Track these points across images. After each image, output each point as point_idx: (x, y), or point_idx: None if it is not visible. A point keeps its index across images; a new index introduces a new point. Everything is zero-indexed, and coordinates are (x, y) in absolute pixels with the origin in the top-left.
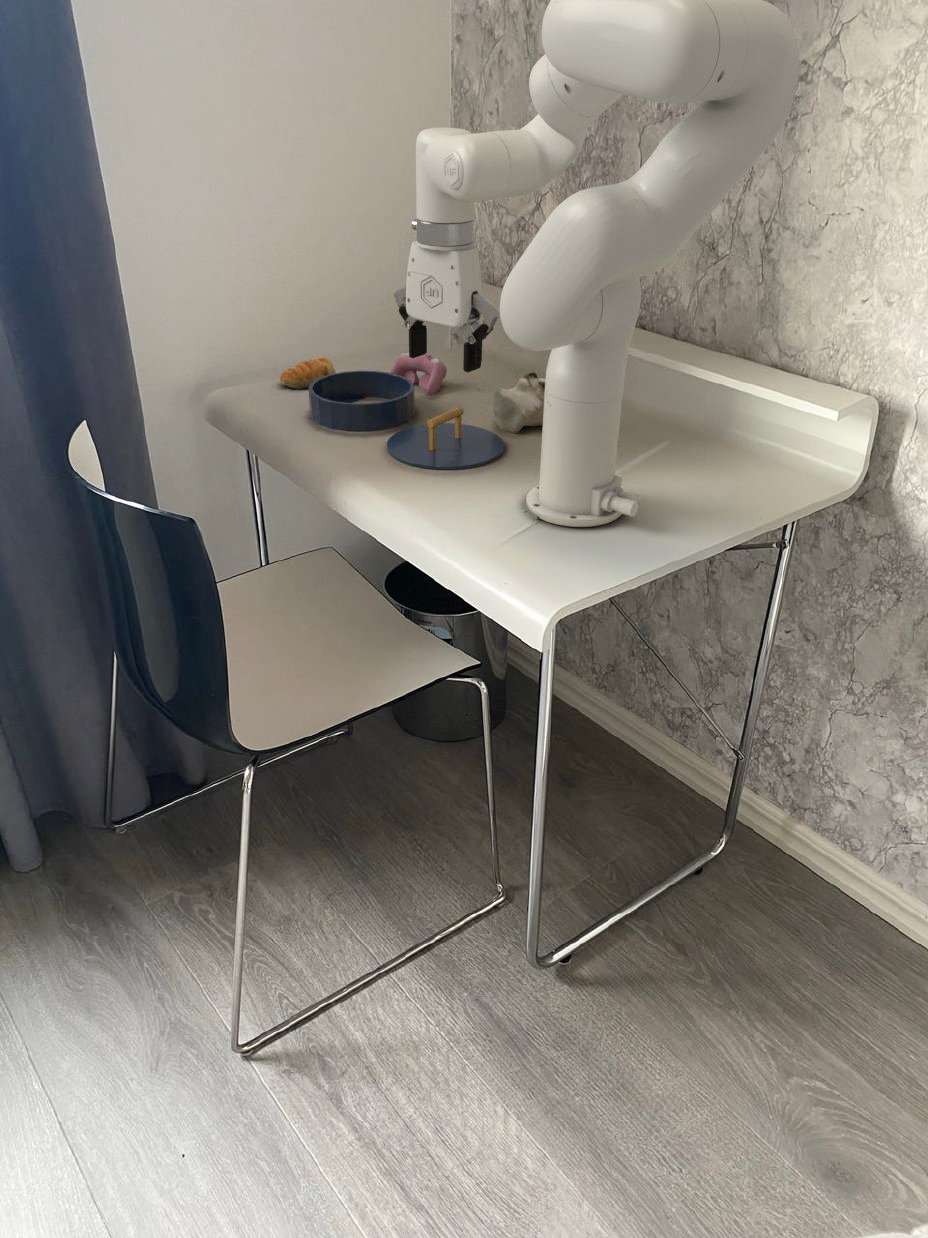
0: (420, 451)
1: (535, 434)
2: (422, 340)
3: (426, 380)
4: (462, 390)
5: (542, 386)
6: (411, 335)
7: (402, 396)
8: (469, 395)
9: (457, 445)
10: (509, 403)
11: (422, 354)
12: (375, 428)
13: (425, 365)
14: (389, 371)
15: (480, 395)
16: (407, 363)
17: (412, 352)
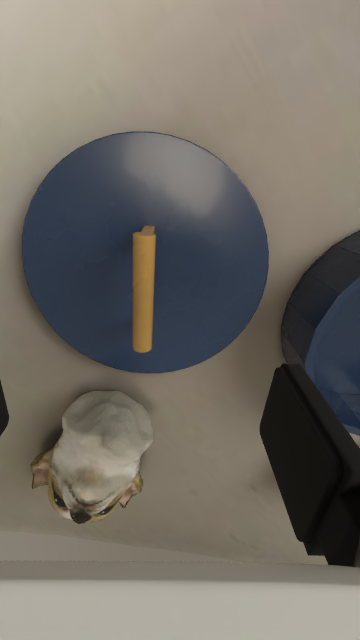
0: (164, 206)
1: None
2: (284, 460)
3: None
4: (273, 477)
5: (59, 496)
6: (334, 441)
7: (311, 354)
8: (254, 469)
9: (122, 281)
10: (83, 425)
11: (264, 410)
12: (321, 264)
13: None
14: None
15: (240, 476)
16: None
17: (290, 377)
